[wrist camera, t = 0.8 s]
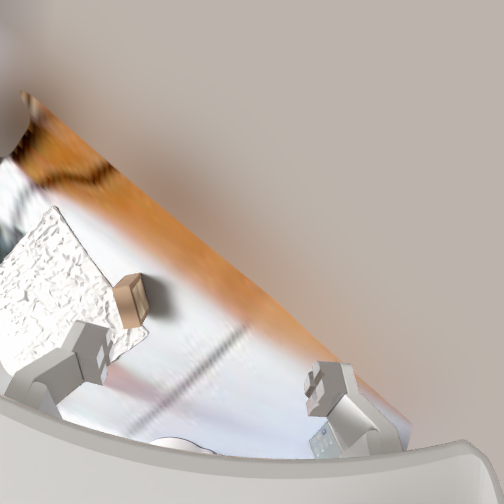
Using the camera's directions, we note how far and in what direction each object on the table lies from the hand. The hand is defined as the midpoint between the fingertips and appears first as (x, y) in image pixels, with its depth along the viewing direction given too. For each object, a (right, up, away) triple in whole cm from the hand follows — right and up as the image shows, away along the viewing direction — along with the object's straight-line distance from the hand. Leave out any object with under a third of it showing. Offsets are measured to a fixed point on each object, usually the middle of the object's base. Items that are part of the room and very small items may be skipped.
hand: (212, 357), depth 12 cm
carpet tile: (-42, -10, +43) cm, 61 cm away
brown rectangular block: (-19, -3, +43) cm, 47 cm away
